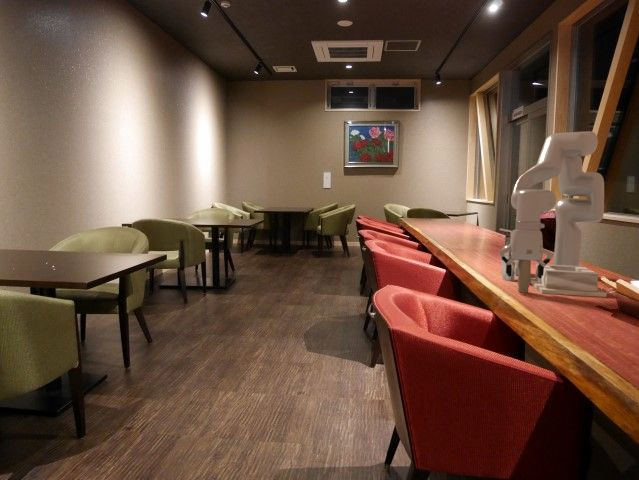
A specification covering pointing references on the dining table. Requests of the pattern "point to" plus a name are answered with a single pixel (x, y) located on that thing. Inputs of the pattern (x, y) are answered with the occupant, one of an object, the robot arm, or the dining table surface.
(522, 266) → the handle
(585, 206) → the robot arm
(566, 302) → the dining table surface
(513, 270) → the cup with straw
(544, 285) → the socket holder
